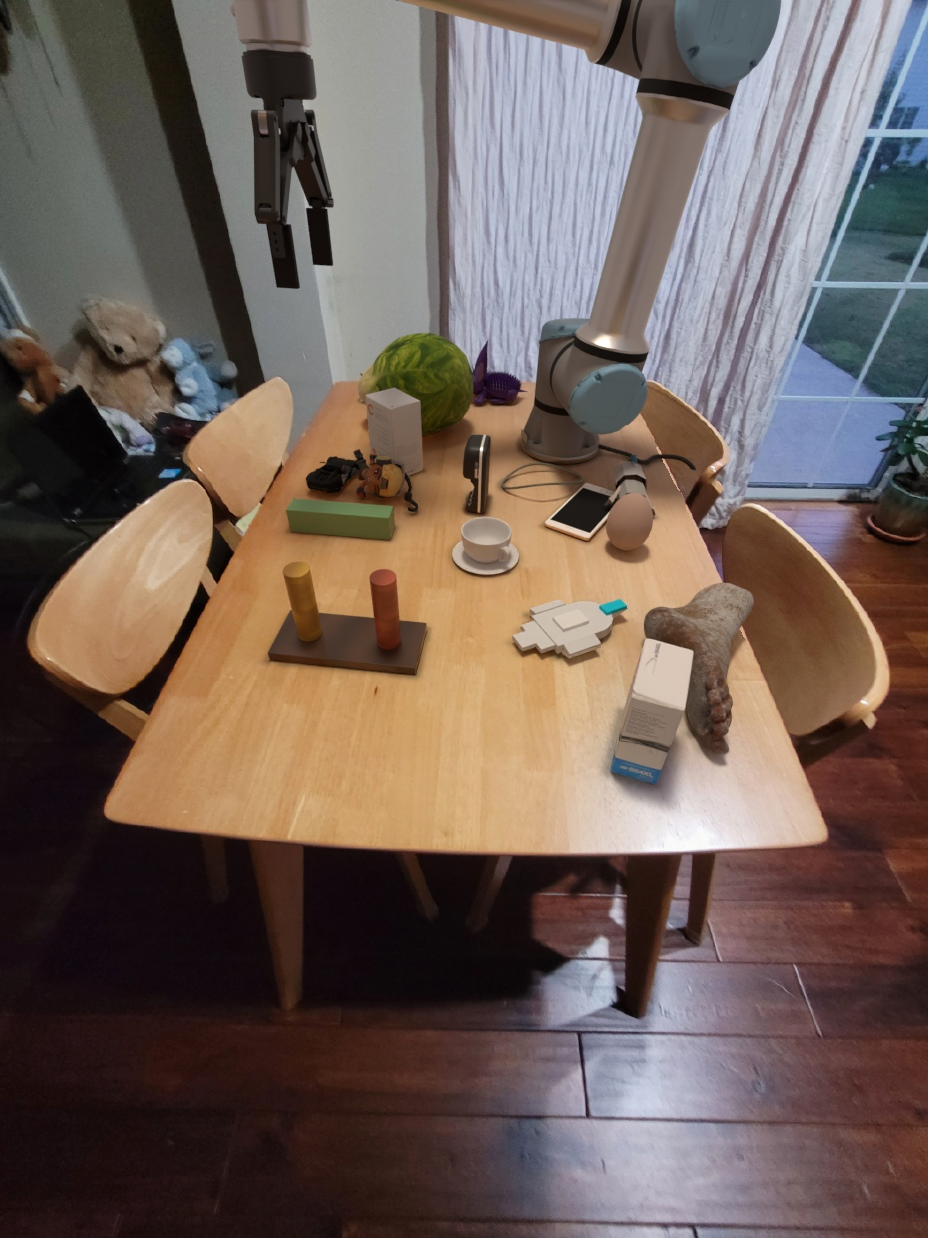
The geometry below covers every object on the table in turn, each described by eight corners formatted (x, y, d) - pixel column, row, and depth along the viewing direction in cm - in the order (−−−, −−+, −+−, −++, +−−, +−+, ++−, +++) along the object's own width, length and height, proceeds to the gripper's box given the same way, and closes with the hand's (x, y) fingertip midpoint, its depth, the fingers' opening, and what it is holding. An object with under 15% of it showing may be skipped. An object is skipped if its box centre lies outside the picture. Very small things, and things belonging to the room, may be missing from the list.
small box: (423, 471, 107) (421, 400, 98) (395, 481, 104) (390, 409, 95) (398, 455, 111) (394, 386, 103) (370, 464, 108) (363, 394, 100)
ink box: (656, 787, 58) (688, 712, 50) (606, 771, 60) (630, 696, 52) (666, 724, 64) (696, 648, 56) (621, 710, 66) (645, 634, 58)
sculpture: (731, 721, 55) (871, 695, 57) (637, 576, 70) (750, 560, 72) (706, 768, 61) (834, 743, 63) (625, 625, 76) (730, 609, 78)
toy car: (362, 465, 108) (360, 444, 105) (356, 498, 99) (353, 476, 96) (316, 465, 107) (312, 444, 104) (305, 499, 98) (301, 476, 96)
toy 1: (335, 447, 94) (399, 496, 89) (376, 428, 99) (439, 473, 94) (338, 485, 100) (397, 532, 95) (376, 465, 105) (435, 509, 100)
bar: (395, 527, 93) (393, 505, 90) (390, 540, 90) (388, 517, 87) (297, 519, 94) (293, 497, 91) (290, 531, 91) (285, 509, 89)
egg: (652, 544, 90) (666, 492, 84) (635, 565, 86) (650, 511, 80) (612, 530, 93) (623, 478, 87) (594, 550, 88) (605, 497, 82)
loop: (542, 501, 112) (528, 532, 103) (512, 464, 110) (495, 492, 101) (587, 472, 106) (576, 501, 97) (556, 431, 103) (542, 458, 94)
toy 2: (655, 541, 94) (645, 485, 103) (671, 511, 89) (659, 455, 99) (603, 531, 93) (597, 476, 103) (617, 501, 88) (610, 446, 98)
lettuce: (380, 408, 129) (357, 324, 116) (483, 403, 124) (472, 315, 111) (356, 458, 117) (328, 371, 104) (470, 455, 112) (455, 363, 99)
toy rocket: (499, 614, 75) (499, 627, 76) (537, 661, 68) (536, 675, 69) (602, 580, 80) (600, 594, 81) (648, 621, 73) (645, 635, 74)
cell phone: (626, 498, 100) (627, 495, 100) (588, 541, 90) (588, 538, 90) (585, 485, 103) (586, 482, 103) (543, 525, 93) (543, 522, 93)
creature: (448, 393, 135) (448, 337, 127) (524, 391, 137) (529, 336, 128) (451, 408, 128) (451, 350, 120) (531, 406, 130) (537, 349, 122)
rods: (426, 629, 75) (424, 558, 68) (415, 674, 69) (411, 603, 62) (291, 616, 76) (274, 546, 69) (269, 659, 70) (247, 587, 63)
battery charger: (466, 492, 101) (467, 429, 94) (488, 494, 101) (491, 430, 93) (461, 513, 96) (461, 448, 88) (483, 515, 96) (486, 450, 88)
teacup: (438, 553, 87) (438, 527, 84) (488, 530, 92) (489, 504, 89) (482, 586, 82) (483, 559, 79) (532, 559, 87) (535, 533, 84)
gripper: (285, 55, 72) (310, 255, 86) (186, 39, 53) (239, 296, 67) (344, 57, 71) (360, 258, 85) (264, 41, 53) (302, 300, 67)
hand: (306, 275), depth 76 cm, fingers open, 13 cm apart
